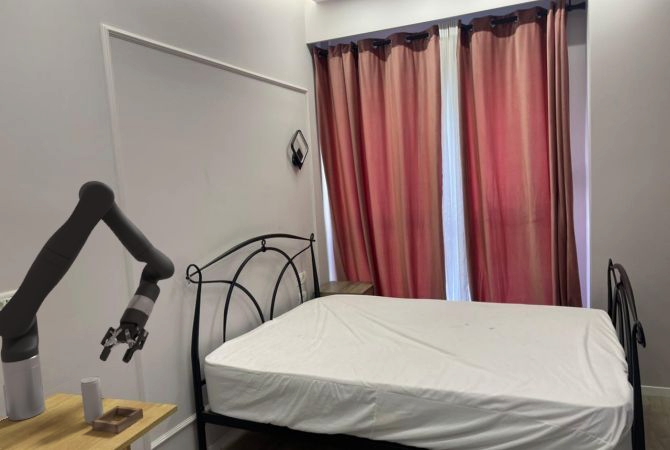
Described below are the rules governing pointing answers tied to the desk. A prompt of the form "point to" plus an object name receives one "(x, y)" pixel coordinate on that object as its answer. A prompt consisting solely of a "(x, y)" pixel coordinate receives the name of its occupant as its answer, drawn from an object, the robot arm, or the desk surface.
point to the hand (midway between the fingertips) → (113, 361)
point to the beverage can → (92, 398)
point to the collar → (117, 427)
